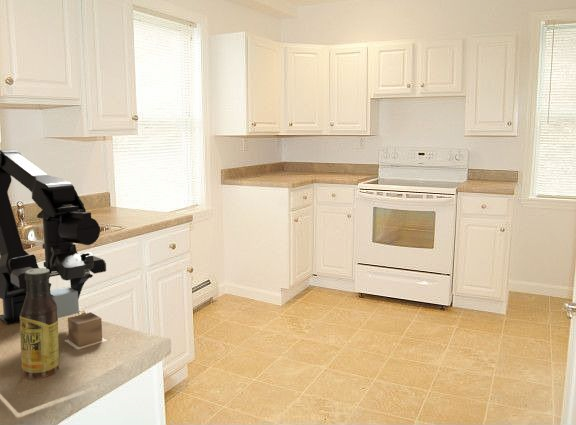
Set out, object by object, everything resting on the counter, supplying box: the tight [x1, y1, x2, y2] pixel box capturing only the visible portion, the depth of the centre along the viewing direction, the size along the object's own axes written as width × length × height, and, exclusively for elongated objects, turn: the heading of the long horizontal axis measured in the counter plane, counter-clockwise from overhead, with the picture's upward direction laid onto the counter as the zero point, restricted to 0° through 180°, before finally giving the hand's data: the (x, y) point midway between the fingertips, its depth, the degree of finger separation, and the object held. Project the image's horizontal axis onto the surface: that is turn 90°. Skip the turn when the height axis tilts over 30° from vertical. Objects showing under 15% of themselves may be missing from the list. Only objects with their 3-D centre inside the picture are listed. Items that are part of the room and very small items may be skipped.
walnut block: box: [67, 311, 103, 347], centre depth 107 cm, size 5×5×5 cm
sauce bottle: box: [19, 267, 60, 379], centre depth 92 cm, size 7×6×20 cm
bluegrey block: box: [50, 286, 80, 319], centre depth 112 cm, size 5×5×5 cm
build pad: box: [64, 337, 108, 350], centre depth 107 cm, size 10×10×1 cm
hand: (62, 308), depth 112 cm, fingers closed on bluegrey block, 5 cm apart
